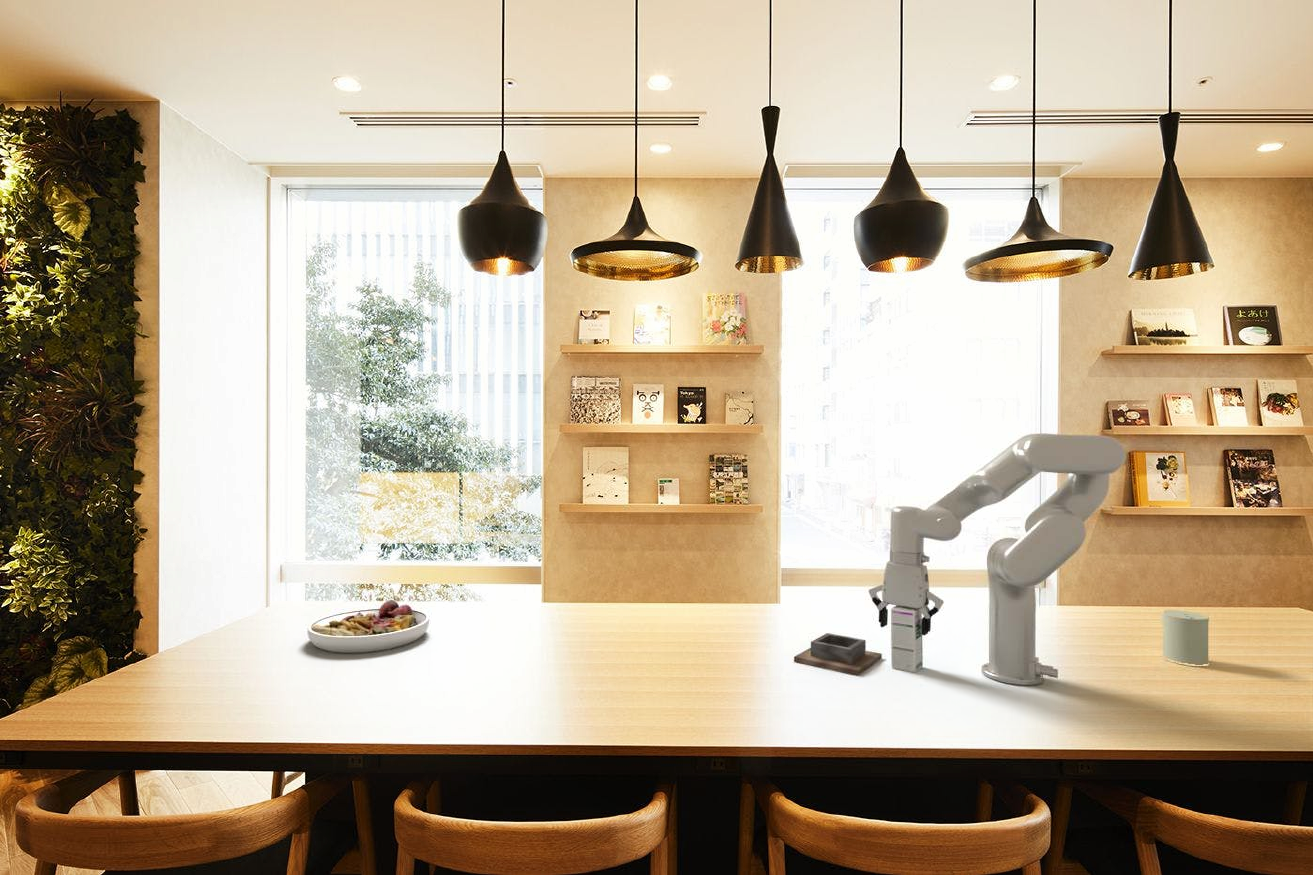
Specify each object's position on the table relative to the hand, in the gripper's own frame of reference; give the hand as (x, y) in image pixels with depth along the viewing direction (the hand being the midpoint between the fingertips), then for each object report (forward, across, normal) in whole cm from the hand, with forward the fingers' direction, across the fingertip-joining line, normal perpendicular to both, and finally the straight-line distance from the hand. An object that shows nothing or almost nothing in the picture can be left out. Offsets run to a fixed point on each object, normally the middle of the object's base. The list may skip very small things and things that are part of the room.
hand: (903, 630), depth 160 cm
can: (+7, -54, -49) cm, 73 cm away
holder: (+9, +14, +5) cm, 18 cm away
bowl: (+13, +120, +67) cm, 138 cm away
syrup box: (+9, -1, 0) cm, 9 cm away
